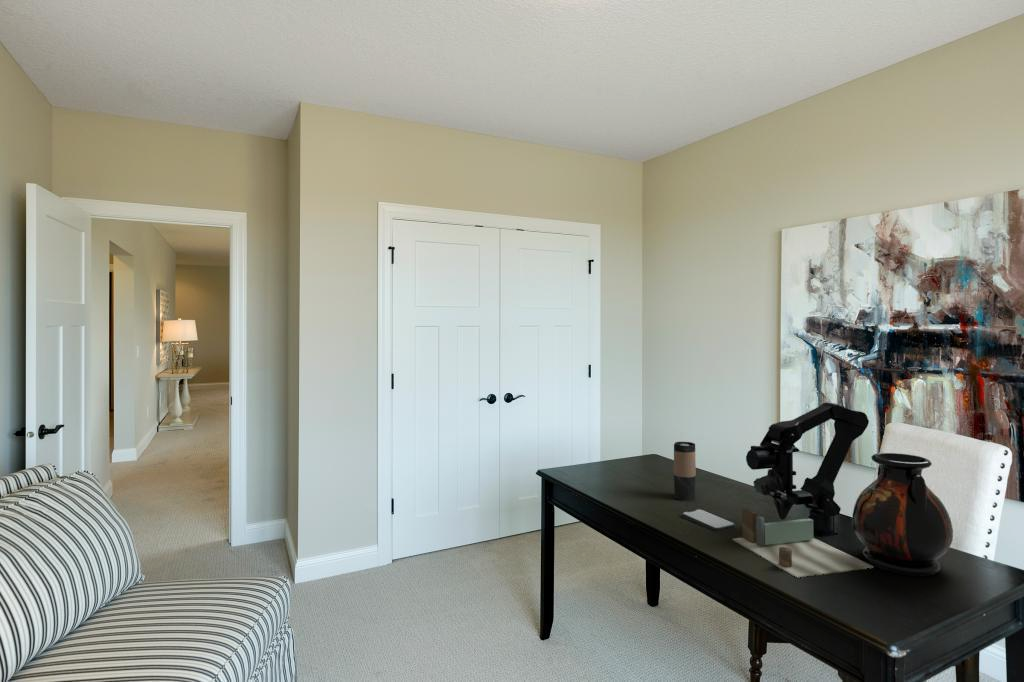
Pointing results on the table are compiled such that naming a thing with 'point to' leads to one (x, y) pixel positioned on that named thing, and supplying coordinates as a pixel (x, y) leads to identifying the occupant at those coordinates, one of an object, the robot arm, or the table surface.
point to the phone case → (708, 520)
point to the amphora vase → (902, 518)
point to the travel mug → (684, 470)
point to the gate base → (799, 552)
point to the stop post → (785, 557)
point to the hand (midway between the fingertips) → (782, 519)
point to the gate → (783, 531)
